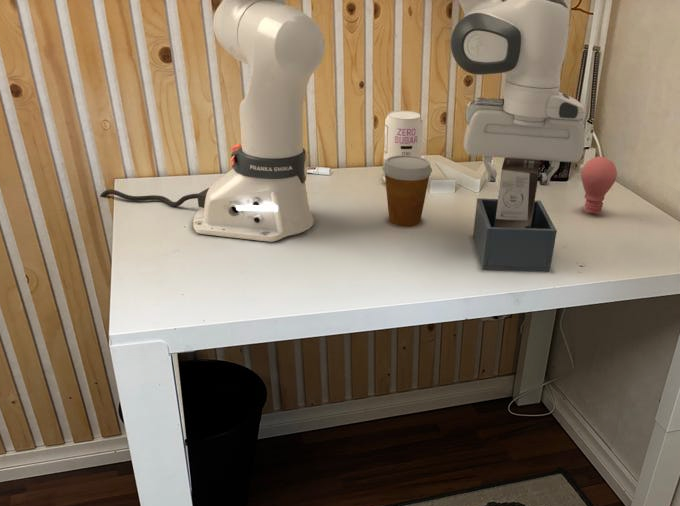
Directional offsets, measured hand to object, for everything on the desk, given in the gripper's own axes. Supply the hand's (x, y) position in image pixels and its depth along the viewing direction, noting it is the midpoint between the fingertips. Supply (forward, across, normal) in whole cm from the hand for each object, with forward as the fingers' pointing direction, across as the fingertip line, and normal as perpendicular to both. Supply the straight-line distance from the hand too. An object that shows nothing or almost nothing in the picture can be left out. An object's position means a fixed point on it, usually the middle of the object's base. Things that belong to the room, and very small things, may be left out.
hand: (517, 182), depth 128 cm
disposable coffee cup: (+14, -18, +14) cm, 27 cm away
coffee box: (+13, +1, +1) cm, 13 cm away
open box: (+14, +1, +1) cm, 14 cm away
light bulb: (+13, +21, +23) cm, 34 cm away
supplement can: (+14, -19, +38) cm, 44 cm away
